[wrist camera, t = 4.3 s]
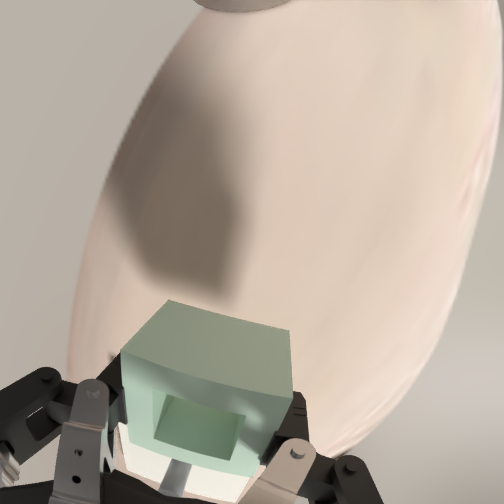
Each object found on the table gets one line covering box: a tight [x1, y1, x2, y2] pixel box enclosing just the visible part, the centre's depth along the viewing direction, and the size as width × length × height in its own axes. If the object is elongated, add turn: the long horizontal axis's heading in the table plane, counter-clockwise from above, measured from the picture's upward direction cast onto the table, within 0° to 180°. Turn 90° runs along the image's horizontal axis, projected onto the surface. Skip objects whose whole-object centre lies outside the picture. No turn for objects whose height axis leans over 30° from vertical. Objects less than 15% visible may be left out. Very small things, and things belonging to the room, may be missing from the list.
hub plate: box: [118, 422, 250, 503], centre depth 17 cm, size 16×13×7 cm
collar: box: [120, 300, 293, 478], centre depth 10 cm, size 6×6×4 cm
